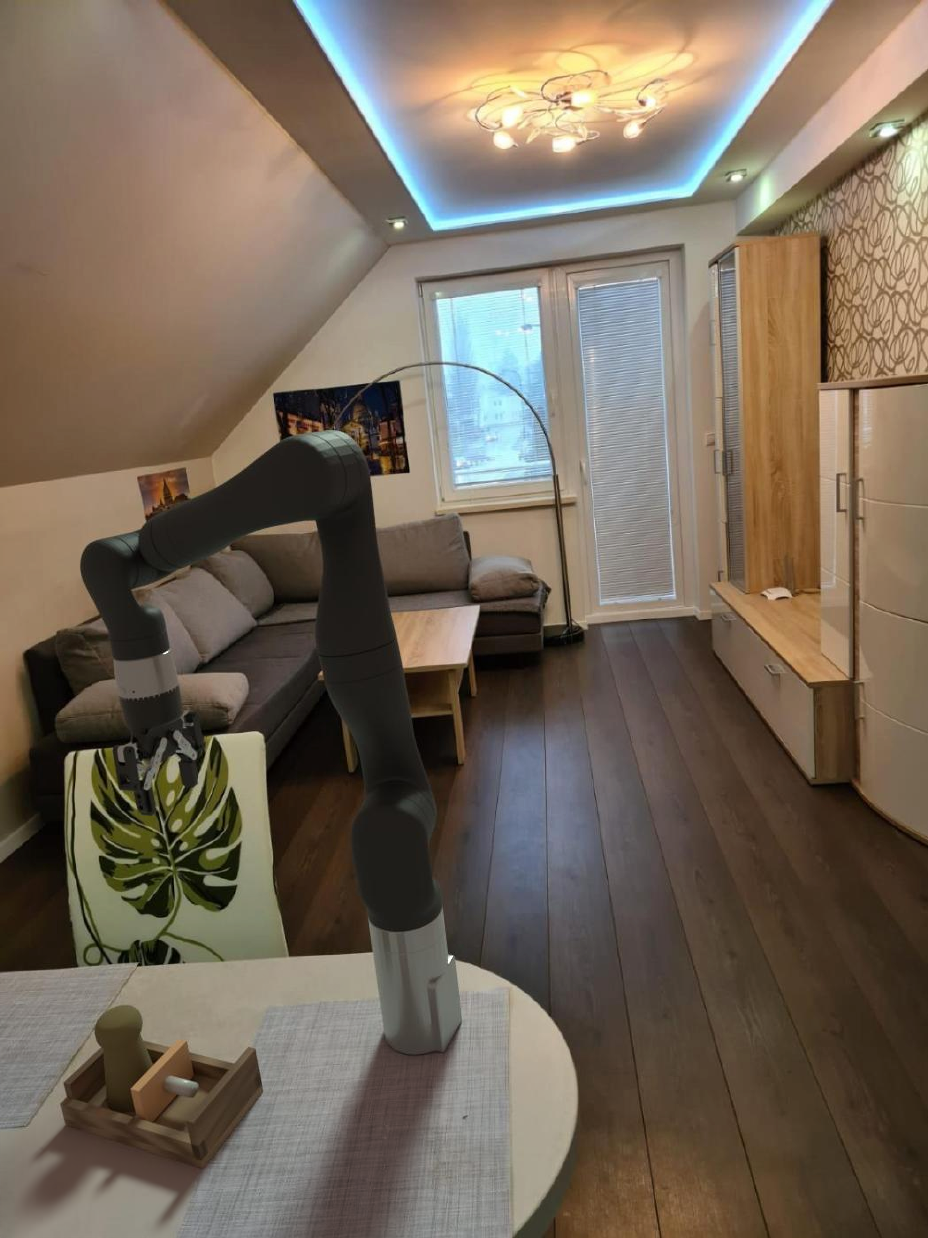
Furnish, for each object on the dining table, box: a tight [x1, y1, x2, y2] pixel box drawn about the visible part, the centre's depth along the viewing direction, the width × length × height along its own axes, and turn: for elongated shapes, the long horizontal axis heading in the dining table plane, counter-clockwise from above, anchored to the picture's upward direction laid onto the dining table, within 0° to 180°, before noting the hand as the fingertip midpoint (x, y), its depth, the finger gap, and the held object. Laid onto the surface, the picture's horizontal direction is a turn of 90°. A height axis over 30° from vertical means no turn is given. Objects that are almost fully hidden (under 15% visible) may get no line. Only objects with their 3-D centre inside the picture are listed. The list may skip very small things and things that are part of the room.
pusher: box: [131, 1038, 198, 1122], centre depth 97 cm, size 5×8×5 cm, turn 158°
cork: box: [94, 1004, 153, 1113], centre depth 99 cm, size 6×6×11 cm
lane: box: [59, 1040, 264, 1169], centre depth 98 cm, size 20×11×6 cm, turn 68°
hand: (170, 799), depth 114 cm, fingers open, 8 cm apart
